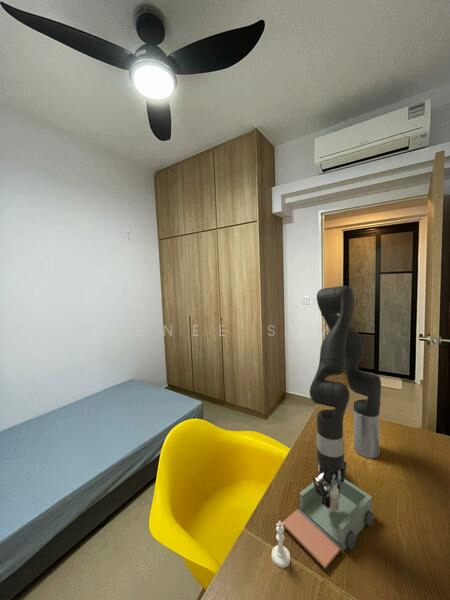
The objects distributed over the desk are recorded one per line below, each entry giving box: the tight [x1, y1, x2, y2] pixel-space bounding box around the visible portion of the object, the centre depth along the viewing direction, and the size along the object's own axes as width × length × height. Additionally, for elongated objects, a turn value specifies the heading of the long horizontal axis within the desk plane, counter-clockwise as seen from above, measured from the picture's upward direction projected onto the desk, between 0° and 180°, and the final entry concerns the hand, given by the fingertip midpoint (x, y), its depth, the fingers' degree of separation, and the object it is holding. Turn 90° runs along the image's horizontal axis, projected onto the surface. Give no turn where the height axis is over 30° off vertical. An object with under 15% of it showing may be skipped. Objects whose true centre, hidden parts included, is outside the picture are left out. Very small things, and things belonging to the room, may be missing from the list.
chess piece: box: [271, 520, 291, 568], centre depth 65 cm, size 5×5×10 cm
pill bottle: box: [324, 480, 339, 511], centre depth 74 cm, size 4×4×8 cm
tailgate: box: [281, 508, 342, 570], centre depth 69 cm, size 1×14×7 cm
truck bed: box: [298, 478, 375, 552], centre depth 76 cm, size 16×16×6 cm
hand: (330, 500), depth 74 cm, fingers closed on pill bottle, 4 cm apart
